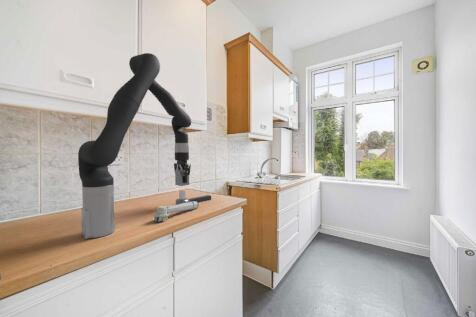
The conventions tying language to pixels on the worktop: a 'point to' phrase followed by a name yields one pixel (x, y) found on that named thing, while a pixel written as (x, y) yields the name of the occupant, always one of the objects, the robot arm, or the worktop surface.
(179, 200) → the ratchet
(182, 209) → the grey cylindrical tool
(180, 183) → the socket
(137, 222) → the worktop surface
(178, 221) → the worktop surface
